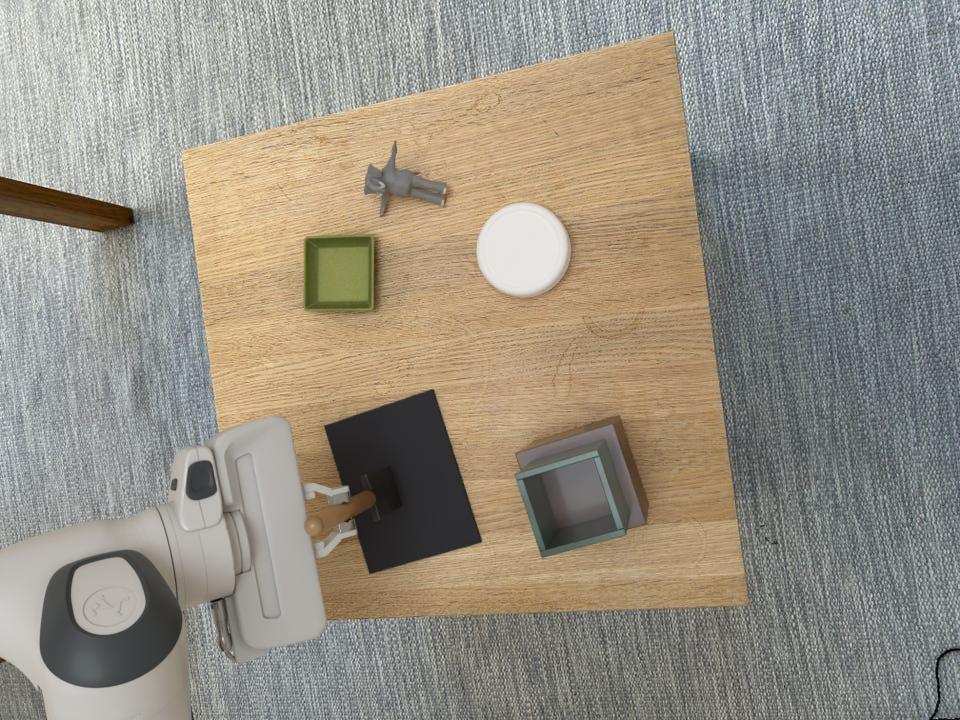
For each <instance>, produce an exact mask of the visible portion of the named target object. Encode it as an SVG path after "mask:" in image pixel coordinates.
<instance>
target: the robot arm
mask: <svg viewBox="0 0 960 720" xmlns="http://www.w3.org/2000/svg"><path fill="white" fill-rule="evenodd" d="M316 495H320V496H323V497H326V499H327V503H328V506H333V505H337V504H342V503H343V502H350V501H351V496H350V490H349V486H342V485H339V486H336V487H331V488H330V487H328V486H325V485H322V484H320V483H315V482H303V483H302V479H301V473H300V467H299V461H298V457H297V452H296V445H295V441H294V436H293V430H292V424H291V421H290V420H289V419H288V418H286V417H284V416H282V415H280V414H275V415H269V416H265V417H260V418H257V419H253V420H250V421H247V422H243V423H241V424H237V425H234V426H232V427H229V428H226V429H224V430H221V431H218V432H217V433H215V434H213V435H212V436H211V437H209V438H208V440H207V441H206V442H205V443H204V445H202V444H193V445H188V446H184V447H183V448H181V449H179V450H178V451H177V452H176V453H175V455H174V457H173V460H172V468H171V476H170V483H169V489H168V496H167V500H166V501H167V502H166V503H163V504H159V505H156V506H151V507H149V508H146V509H144V510H142V511H140V512H137V514H134V515H131V516H128V517H125V518H121V519H119V518H118V519H95V520H90V521H86V522H82V523H77V524H73V525H70V526H65V527H62V528H57V529H55V530H51V531H47V532H43V533H40V534H38V535H34V536H32V537H29V538H26V539H23V540H20V541H18V542H15V543H12V544H10V545H8V546H6V547H4V548H1V549H0V658H1V659H2V660H5V661H7V662H8V663H9V664H11V665H13V666H14V667H15V668H17V669H18V670H19V671H20V672H21V673H22V674H23V675H24V676H25V677H26V678H27V679H28V680H29V681H30V683H31V684H32V685H33V687H34V688H35V690H36V691H37V692H40V690H41V694H42V699H43V704H44V709H45V715H46V720H195V719H194V713H193V707H192V700H191V699H192V698H191V679H190V660H189V644H188V641H189V640H188V628H187V623H186V618H185V616H184V613H183V610H185V609H189V608H192V607H193V608H194V607H196V606H199V605H203V604H206V603H210V609H211V614H212V620H213V622H214V626H215V629H216V634H217V635H216V643H217V647H218V650H219V652H220V653H224V655H225V656H226V658H227V659H228V660H229V661H231V662H233V663H236V664H246V663H248V662H251V661H255V660H257V659H260V658H262V657H264V656H265V655H267V654H268V653H269V651H270V650H271V649H274V648H282V647H287V646H292V645H296V644H300V643H305V642H309V641H312V640H314V639H318V638H319V637H320V636H321V635H322V634H323V632H324V631H325V630H326V628H327V627H328V617H327V613H326V608H325V601H324V596H323V592H322V585H321V581H320V576H319V575H320V574H319V569H318V563H317V560H318V559H321V558H325V557H327V556H329V554H330V553H332V551H334V549H335V548H336V547H337V546H338V545H339V544H340V543H341V542H342V540H343V539H346V538H350V537H354V536H357V534H358V533H357V528H356V523H355V519H354V518H353V519H352V518H350V519H348V520H346V521H345V522H343V523H341V524H339V525H337V526H335V527H333V528H332V530H333V531H332V532H330V533H329V534H328V535H327V536H326V537H325V538H324V539H323V540H322V541H321V540H317V539H313V538H312V537H313V536H310V535H308V534H307V533H306V531H305V529H304V522H305V520H306V519H307V518H308V517H309V516H308V511H307V505H306V501H309V500H311V499H315V498H316ZM231 650H232V653H231Z"/></svg>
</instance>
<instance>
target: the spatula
mask: <svg viewBox="0 0 960 720" xmlns="http://www.w3.org/2000/svg"><path fill="white" fill-rule="evenodd" d="M361 479H362V483H363V486H364V489H365V491H363V492H361V493H359V494H357V495H355V496H353V497H351V501H350V502H343V503H342V504H337V505H330V506H328V507H327V508H324V509H322V510H320V511H317V512H316V513H314V514H311V515H309V516H308V518H307V519H306V520H305V522H304V529H305V531H306V533H307V534H308V535H310V536H311V537H317V536H320V535H322V534H324V533H325V532H327V531H329V530H331V529H333V527H335V526H337V525H339V524H341V523H343V522H345V521H346V520H348V519H350V518H352V517H354V516H356V515H358V514H360V513H362V512H364V511H365V510H367V509H369V508H371V512H372V515H373V518H374V521H377V520H380V519H382V518H384V517H385V516H387V515H389V514H390V513H392V512H394V511H396V510H397V509H399V508H401V507H402V506H403V505H402V502H401V499H400V496H399V493H398V489H397V486H396V483H395V480H394V477H393V473H392V470H391V467H390V465H389V466H386V467H383V468H380V469H378V470H376V471H373V472H371V473H368V474H366V475H363V476H361Z"/></svg>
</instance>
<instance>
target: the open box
mask: <svg viewBox="0 0 960 720" xmlns="http://www.w3.org/2000/svg"><path fill="white" fill-rule="evenodd" d="M514 454H515V457H516V460H517V464H518V467H519V470H518V471H517V472H515V473H514V478H515V480H516V483H517V486H518V487H517V488H518V489H519V493H520V496H521V499H522V503H523V505H524V508H525V512H526V514H527V517H528V521H529V523H530V527H531V530H532V533H533V536H534V539H535V542H536V545H537V549H538V552H539V554H540V557H541V558H542V559H543V558H548V557H551V556H555V555H560V554H563V553H566V552H570V551H574V550H577V549H581V548H585V547H589V546H592V545H596V544H599V543H603V542H605V541H606V542H607V541H610V540H615V539H617V538H621V537H625V536H627V532H628V530H632V529H636V528H639V527H642V526H646V525H647V524H648V516H649V507H650V501H649V499H648V496H647V493H646V491H645V490H646V489H645V488H644V485H643V481H642V478H641V475H640V472H639V470H638V466H637V464H636V460H635V458H634V455H633V452H632V449H631V445H630V443H629V440H628V436H627V434H626V431H625V428H624V425H623V421H622V419H621V416H620V414H617V415H613V416H610V417H607V418H604V419H602V420H601V419H600V420H598V421H595V422H591V423H589V424H586V425H581V426H579V427H575V428H572V429H569V430H565V431H563V432H559V433H555V434H553V435H549V436H546V437H543V438H540V439H537V440H533V441H531V442H530V443H529V444H527V445H525V446H524V447H523V448H521V449H520V450H518V451H516V452H515V453H514Z"/></svg>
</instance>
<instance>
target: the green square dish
mask: <svg viewBox="0 0 960 720" xmlns="http://www.w3.org/2000/svg"><path fill="white" fill-rule="evenodd" d="M302 288H303V290H302V291H303V293H302V294H303V295H302V299H303V300H302V301H303V302H302V307H303V308H302V309H303V311H305V312H356V311H358V312H359V311H360V312H361V311H362V312H363V311H364V312H369V311H370V312H371V311H373V310H374V307H375V292H374V291H375V236H374V234H371V233H361V234H360V233H358V234H337V235H336V234H333V235H307V236H305V237H304V239H303V287H302Z"/></svg>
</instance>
